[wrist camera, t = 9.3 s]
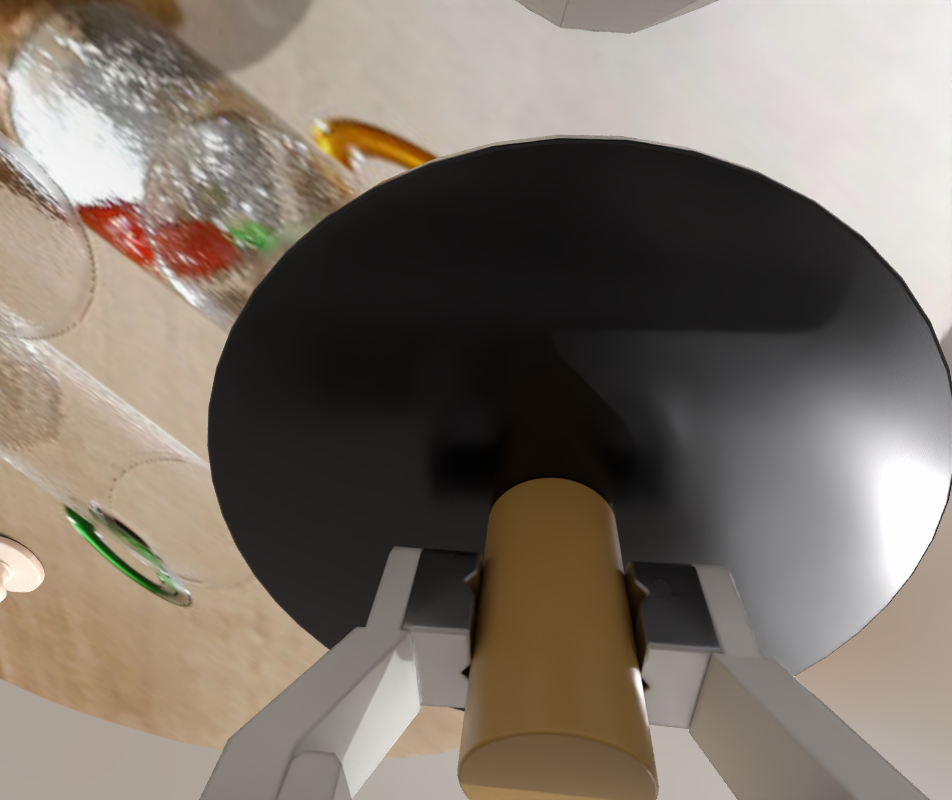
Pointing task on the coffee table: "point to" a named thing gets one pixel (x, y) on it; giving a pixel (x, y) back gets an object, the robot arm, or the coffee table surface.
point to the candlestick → (18, 568)
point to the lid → (582, 426)
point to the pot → (611, 13)
